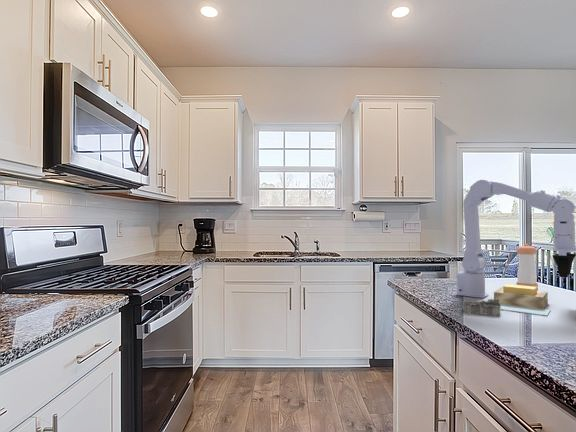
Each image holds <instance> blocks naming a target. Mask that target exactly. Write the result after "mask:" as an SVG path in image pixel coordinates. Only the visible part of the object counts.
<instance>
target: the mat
mask: <svg viewBox="0 0 576 432" xmlns="http://www.w3.org/2000/svg"><path fill="white" fill-rule="evenodd" d="M500 306H501V308H500V311H507V312H514V313H522V314H529V315H536V316H541V317H542V316H543V317H548V316H549V314H550V313H551V309H547V308H544V309H539V308H531V307H523V306H515V305H507V304H500Z"/></svg>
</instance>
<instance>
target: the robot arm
mask: <svg viewBox="0 0 576 432" xmlns="http://www.w3.org/2000/svg"><path fill="white" fill-rule="evenodd" d="M494 195H495V196H500V195H507V196H510V197H514V198H516V199H520V200H523V201H526V203H527V204H528V206H529V207H532V208H534V209H538V210H542V211H544V212H547V213H551V212H552V213H553V218H554V219H553V220H554V221H553V247H552V250H553V251H555V252H557V253H555V254H552V255H551V256H552V259H553V260H554V262H555V264H556V267H557V272H558V276H559V278H568V277H569V275H570V274H571V272H572V266H573V262H574V259H575V258H576V253H573V252H576V236H575V235H576V232H575V231H576V230H575V229H576V228H575V225H576V222H575V215H574V212H575V209H576V207H575V204H574V203H573V201H571V200H569V199H566V198H565V199H564V198H562V196H561V195H552V194H549V193H546V191H545V190H542V189H541V190H535V191H533V192H529V191H526V190H523V189H521V188H517V187H515V186H511V185H509V184H506V183H503V182H498V181H491V180H490V181H488V180H485V179H480V180H479V179H478V180H477V181H475V182H474V183H473V184H471V186H470V187H469V191H468V192H467V194H466V196H465V197H464V199H463V202H462V204H463V206H462V207H463V218H464V223H463V224H464V236H465V239H464V240H465V250H464V252H463V258H462V261H461V265H462V268H463V271H461V270H460V271H458V272H457V276H456V293H455V294H456V296H462V297H471V298H481V299H483V298H486V297H487V296H488V295H489V293H486V273H485V272H486V271H485V270H484V268H485V267H486V265H487V261H486V258H485V257H484V254H483V253H484V251H483V249H482V246H481V231H480V219H479V217H480V216H479V206H480V205H481V204H482V203H483V202H484V201H486V200H488V199H490V198H492V197H493V196H494ZM571 252H572V253H571Z"/></svg>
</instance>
